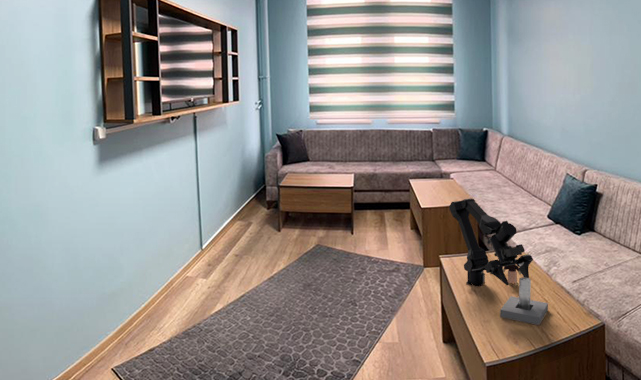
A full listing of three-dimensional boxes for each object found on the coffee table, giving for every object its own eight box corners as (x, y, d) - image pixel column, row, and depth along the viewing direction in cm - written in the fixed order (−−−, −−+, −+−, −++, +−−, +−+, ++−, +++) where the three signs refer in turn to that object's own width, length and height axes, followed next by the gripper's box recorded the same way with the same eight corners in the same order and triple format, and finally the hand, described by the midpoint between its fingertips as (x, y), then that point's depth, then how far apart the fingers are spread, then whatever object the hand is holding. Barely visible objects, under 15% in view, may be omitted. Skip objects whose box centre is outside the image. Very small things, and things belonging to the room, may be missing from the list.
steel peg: (517, 314, 197) (518, 280, 194) (520, 310, 200) (520, 276, 197) (528, 316, 194) (529, 282, 192) (530, 312, 198) (531, 278, 195)
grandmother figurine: (520, 282, 226) (521, 255, 223) (521, 286, 222) (521, 258, 220) (502, 281, 228) (502, 254, 226) (502, 285, 225) (502, 257, 222)
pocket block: (500, 316, 196) (500, 309, 195) (510, 303, 207) (510, 296, 206) (539, 325, 188) (539, 317, 187) (547, 310, 199) (548, 303, 198)
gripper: (489, 241, 198) (506, 277, 190) (530, 234, 203) (549, 270, 194) (477, 254, 207) (493, 290, 199) (517, 248, 212) (534, 282, 203)
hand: (518, 283), depth 199 cm, fingers open, 9 cm apart
